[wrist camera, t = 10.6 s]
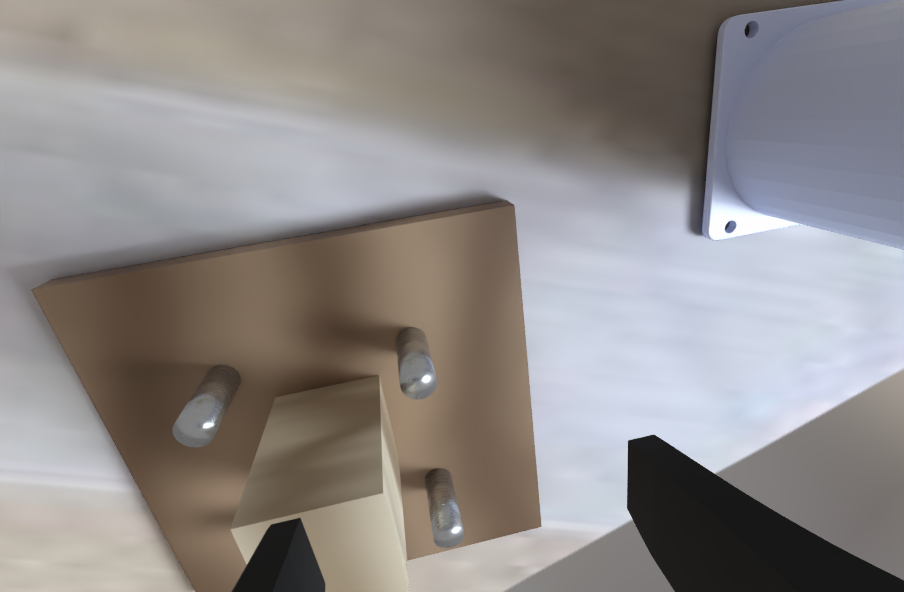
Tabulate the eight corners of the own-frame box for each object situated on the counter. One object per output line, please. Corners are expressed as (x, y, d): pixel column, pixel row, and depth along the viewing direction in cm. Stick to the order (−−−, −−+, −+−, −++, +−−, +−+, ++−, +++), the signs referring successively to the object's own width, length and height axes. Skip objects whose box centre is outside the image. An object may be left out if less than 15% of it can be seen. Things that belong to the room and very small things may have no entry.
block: (379, 375, 18) (383, 492, 12) (398, 454, 19) (409, 591, 14) (275, 397, 17) (230, 529, 12) (303, 476, 19) (275, 625, 13)
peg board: (506, 200, 17) (544, 223, 13) (534, 510, 23) (565, 584, 19) (51, 279, 15) (-49, 330, 12) (213, 589, 21) (180, 687, 18)
